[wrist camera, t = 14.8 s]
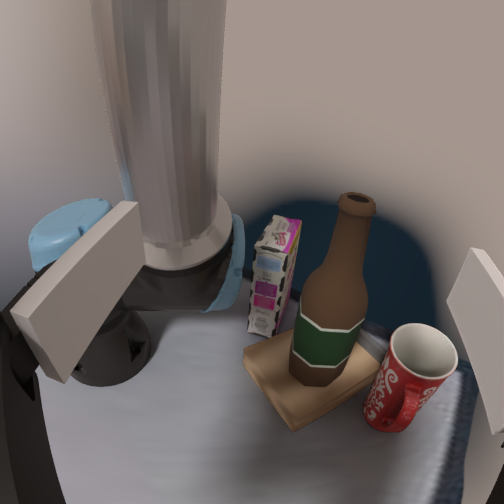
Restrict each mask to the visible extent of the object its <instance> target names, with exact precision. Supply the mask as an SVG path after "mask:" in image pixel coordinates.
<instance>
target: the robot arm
mask: <svg viewBox="0 0 504 504" xmlns="http://www.w3.org/2000/svg"><path fill="white" fill-rule="evenodd" d="M90 1H91V14H92V23H93V33H94V42H95V50H96V57H97V65H98V71H99V78H100V84H101V90H102V96H103V102H104V107H105V113H106V118H107V123H108V127H109V132H110V137H111V142H112V146H113V151H114V155H115V160H116V164H117V168H118V172H119V176H120V180H121V184H122V188H123V192H124V196H125V199H126V201H121V202H120V203H119V204H118V205H117V206H115V207H114V208H113V207H112V205H111V204H110V202H108V201H107V200H103V199H100V198H94V199H85V200H81V201H77V202H74V203H71V204H68V205H65V206H63V207H61V208H59V209H57V210H55V211H53V212H51V213H50V214H48V215H47V216H45V217H44V218H43V219H42V220H41V221H39V222H38V223H37V225H36V226H35V227H34V228H33V230H32V232H31V234H30V236H29V242H28V243H29V250H30V254H31V258H32V262H33V264H32V266H33V268H34V270H35V273H36V275H35V276H34V278H32V279H31V280H30V281H29V282H28V283H27V286H24V287H23V288H22V290H21V291H20V292H19V293H18V294H17V295H16V296H15V297H14V298H13V299H12V300H11V302H10V303H9V304H8V305H7V306H6V307H5V308H4V309H3V311H2V312H0V504H66V502H65V499H64V496H63V493H62V490H61V487H60V483H59V480H58V476H57V473H56V469H55V466H54V462H53V458H52V454H51V450H50V445H49V441H48V436H47V431H46V426H45V421H44V415H43V409H42V403H41V396H40V389H39V381H38V377H37V374H36V372H35V370H36V368H37V367H38V365H40V366H41V368H42V370H43V371H44V373H45V374H46V376H47V377H50V378H52V379H54V380H56V381H59V382H61V383H63V384H65V383H66V381H67V379H68V378H69V376H70V375H71V376H72V377H73V378H75V379H76V380H77V381H79V382H81V383H83V384H86V385H90V386H97V387H104V386H112V385H116V384H119V383H121V382H124V381H126V380H128V379H129V378H131V377H133V376H134V375H135V374H136V373H138V372H139V371H140V370H141V368H142V367H143V366H144V365H145V363H146V361H147V359H148V357H149V354H150V349H151V343H150V338H149V334H148V330H147V327H146V325H145V323H144V322H143V320H142V319H141V317H140V316H139V315H138V313H137V312H136V310H143V311H198V312H201V313H207V312H209V311H215V310H225V309H228V308H230V307H231V306H232V305H233V304H234V303H235V301H236V299H237V297H238V294H239V291H240V287H241V282H242V269H243V265H244V257H245V237H244V236H245V235H244V227H243V222H242V219H241V218H240V217H239V216H238V215H235V214H232V213H231V212H230V209H229V207H228V205H227V203H226V202H225V200H224V199H223V198H222V197H221V196H220V195H219V194H218V191H217V190H218V152H219V123H220V96H221V77H222V59H223V42H224V27H225V13H226V12H225V11H226V0H90ZM446 302H447V304H448V306H449V309H450V311H451V313H452V316H453V318H454V320H455V323H456V325H457V328H458V330H459V333H460V335H461V338H462V340H463V343H464V346H465V348H466V351H467V353H468V356H469V359H470V362H471V365H472V368H473V371H474V374H475V377H476V380H477V383H478V386H479V389H480V392H481V395H482V399H483V402H484V405H485V409H486V413H487V416H488V420H489V424H490V428H491V432H492V434H498V433H503V432H504V277H503V276H502V274H501V273H500V272H499V270H498V269H497V267H496V266H495V265H494V263H493V262H492V260H491V259H490V258H489V256H488V255H487V253H486V252H485V251H484V250H481V249H476V248H470V250H469V252H468V255H467V257H466V259H465V262H464V264H463V266H462V269H461V271H460V273H459V276H458V278H457V280H456V282H455V284H454V286H453V289H452V290H451V293H450V295H449V297H448V299H447V301H446ZM501 447H502V448H503V447H504V442H503V444H502V445H501ZM486 504H504V464H503V467H502V469H501V472H500V474H499V477H498V479H497V481H496V483H495V485H494V488H493V490H492V492H491V494H490V496H489V498H488V500H487V502H486Z"/></svg>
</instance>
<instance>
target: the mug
mask: <svg viewBox="0 0 504 504" xmlns="http://www.w3.org/2000/svg"><path fill="white" fill-rule="evenodd" d="M457 363H458V356H457V352H456V349H455V347H454V345H453V343H452V342H451V341H450V340H449V339H448V338H447V337H446V336H445V335H444V334H443V333H441V332H440V331H439V330H437V329H435V328H433V327H431V326H428V325H424V324H418V323H412V324H411V323H410V324H405V325H402V326H400V327H399V328H398V329H396V330H395V331H394V332H393V334H392V336H391V339H390V346H389V348H388V350H387V353H386V355H385V358H384V360H383V362H382V365H381V367H380V370H379V372H378V374H377V376H376V379H375V381H374V383H373V385H372V387H371V390H370V392H369V394H368V396H367V398H366V400H365V402H364V406H363V413H364V416H365V419H366V420H367V422H368V423H369V424H370V425H371V426H372V427H374V428H375V429H377V430H380V431H383V432H401V431H403V430H404V429H405V428H407V426H408V425H409V424H410V423H411V421H412V420H413V418H414V416H415V414H416V413H417V412H418V411H419V409H420V408H421V407H422V406H423V405H424V404H425V403H426V402H427V401H428V399H429V398H430V397H431V396H432V395H433V394H434V393H435V391H436V390H437V389H438V388H439V387H440V386H441V384H442V383H443V382H444V381H445V380H446V378H447V377H448V376H450V375H451V374H452V373H453V372H454V371H455V369H456V367H457Z"/></svg>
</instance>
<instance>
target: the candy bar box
mask: <svg viewBox="0 0 504 504" xmlns="http://www.w3.org/2000/svg"><path fill="white" fill-rule="evenodd" d="M301 225H302V220H298V219H292V218H288V217H282V216H277V215H274V216H273V218H272V219H271V221H270V222H269V224H268V225H267V227H266V229H265V230H264V231H263V233H262V235H261V236H260V238H259V239H258V241H257V243H256V244H255V246H254V258H253V270H252V281H251V293H250V304H249V315H248V327H247V332H248V333H251V334H255V335H259V336H262V337H266V338H271V337H273V336H276V333H277V331H278V328H279V325H280V322H281V319H282V317H283V314H284V311H285V308H286V305H287V302H288V300H289V295H290V289H291V284H292V278H293V272H294V266H295V261H296V255H297V249H298V243H299V236H300V230H301Z"/></svg>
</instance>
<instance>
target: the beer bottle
mask: <svg viewBox="0 0 504 504" xmlns="http://www.w3.org/2000/svg"><path fill="white" fill-rule="evenodd" d="M337 203H338V206H339V212H338V216H337V220H336V224H335V228H334V231H333V235H332V239H331V242H330V246H329V249H328V253H327V255H326V257H325V260H324V262H323V264H322V265H321V266H320V267H318V268H317V269H316V270H315V271H313V272H312V273H311V274H310V276H309V277H308V278H307V280H306V281H305V283H304V286H303V289H302V293H301V296H300V302H299V307H298V312H297V317H296V322H295V327H294V331H293V336H292V341H291V346H290V353H289V373H290V374H291V375H292V376H293V377H295V378H296V379H297V380H298V381H299V382H300V383H301V384H303V385H304V386H311V387H327V386H328V385H329V384H331V383H332V382H333V381H334V380H335V379H337V378H338V377H339V376H340V375H341V374H342V372H343V370H344V368H345V366H346V364H347V361H348V359H349V357H350V354H351V352H352V349H353V347H354V344H355V342H356V339H357V337H358V334H359V332H360V329H361V327H362V324H363V321H364V319H365V315H366V311H367V307H368V295H367V290H366V286H365V282H364V279H363V276H362V270H363V261H364V256H365V251H366V246H367V240H368V236H369V230H370V224H371V219H372V215H374V214H376V204H375V202H374V201H373V199H372V198H370V197H368V196H366V195H363V194H361V193H355V192H348V193H344V194H341V196H340V198H339V200H338V202H337Z"/></svg>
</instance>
